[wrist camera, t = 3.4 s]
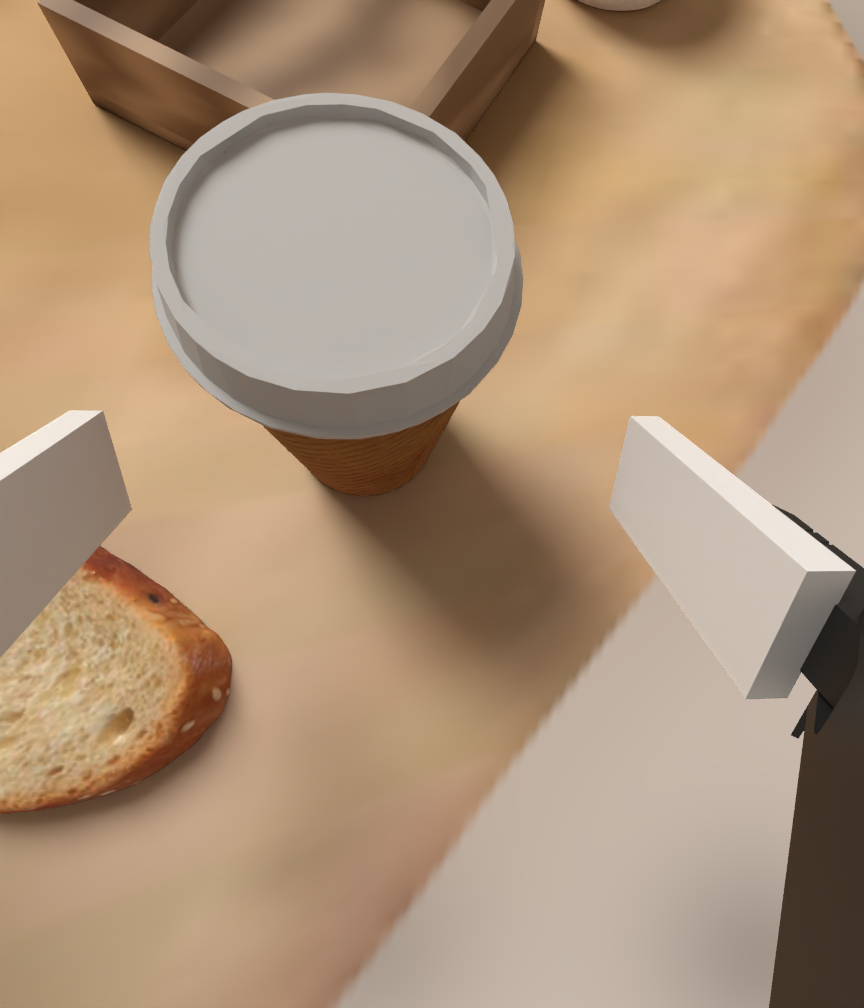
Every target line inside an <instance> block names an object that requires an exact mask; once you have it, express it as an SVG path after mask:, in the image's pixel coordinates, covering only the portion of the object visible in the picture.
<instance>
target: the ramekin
mask: <svg viewBox="0 0 864 1008" xmlns="http://www.w3.org/2000/svg"><path fill="white" fill-rule="evenodd" d="M577 1H580V2H582V3H584V4H587V5H589V6H592V7H596V8H599V9H604V10H614V11H628V10H638V9H643V8H646V7H649V6H651V5H654V4H655V3H657V2H659V1H661V0H577Z"/></svg>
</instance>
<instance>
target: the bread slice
mask: <svg viewBox="0 0 864 1008" xmlns="http://www.w3.org/2000/svg"><path fill="white" fill-rule="evenodd" d="M231 672H232V659H231V655H230V652H229V650H228V648H227V647H226V645H225V644H224V642H223V641H222V640H221V638H220V637H219V635H218V634H217V633H216V632H214V631H213V630H211V629H209V628H208V627H206V626H205V625H204V624H203V623H202V622H201V621H200V619H199V618H198V617H197V616H196V615H195V614H194V613H193V612H191V611H190V610H189V609H188V608H186V607H185V606H184V605H183V604H182V603H181V602H180V601H178V600H177V599H176V598H175V597H174V596H173V595H172V594H171V593H170V592H169V591H168V590H167V589H166V588H164V587H163V586H161V585H159V584H157V583H156V582H154V581H153V580H151V579H150V578H148V577H147V576H146V575H145V574H143V573H142V572H140V571H139V570H138V569H136V568H135V567H134V566H132V565H131V564H129V563H127V562H125V561H124V560H122V559H120V558H118V557H116V556H114V555H113V554H111V553H110V552H108V551H107V550H105V549H104V548H102V547H101V546H99V547H98V548H97V549H96V551H95V552H94V553H93V554H92V555H91V556H90V557H89V558H88V560H87V561H86V562H85V563H84V564H83V565H82V566H81V567H80V569H79V570H78V571H77V572H76V573H75V574H74V575H73V576H72V578H71V579H70V580H69V581H68V582H67V583H66V584H65V586H64V587H63V588H62V589H61V590H60V591H59V592H58V593H57V595H56V596H55V597H54V598H53V599H52V600H51V601H50V602H49V604H48V605H47V606H46V607H45V608H44V609H43V610H42V612H41V613H40V614H39V615H38V616H37V617H36V618H35V619H34V621H33V622H32V623H31V624H30V625H29V626H28V627H27V628H26V630H25V631H24V632H23V633H22V634H21V635H20V636H19V637H18V639H17V640H16V641H15V642H14V643H13V644H12V645H11V647H10V648H9V649H8V650H7V651H6V652H5V653H4V654H3V656H2V657H1V658H0V814H6V813H13V812H28V811H39V810H44V809H50V808H55V807H60V806H64V805H69V804H73V803H77V802H81V801H85V800H89V799H93V798H97V797H101V796H104V795H107V794H110V793H113V792H116V791H118V790H121V789H124V788H126V787H129V786H131V785H134V784H136V783H138V782H140V781H141V780H143V779H145V778H147V777H148V776H150V775H152V774H153V773H155V772H157V771H159V770H160V769H162V768H164V767H165V766H167V765H168V764H169V763H171V762H172V761H173V760H174V759H176V758H177V757H178V756H180V755H181V754H182V753H184V752H185V751H186V750H187V749H189V748H190V747H191V746H192V745H193V744H194V743H195V742H197V741H198V740H199V739H200V737H201V736H202V735H203V734H204V732H205V731H206V730H207V728H208V727H209V726H210V725H211V724H212V723H213V722H214V721H215V720H216V719H217V718H218V717H219V716H220V714H221V712H222V710H223V708H224V706H225V703H226V700H227V698H228V695H229V691H230V682H231Z"/></svg>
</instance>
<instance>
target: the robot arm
mask: <svg viewBox="0 0 864 1008" xmlns="http://www.w3.org/2000/svg"><path fill="white" fill-rule="evenodd" d="M609 509H610V511H611V512H612V513H613V515H614V516H615V518H616V519H617V520H618V522H619V523H620V525H621V526H622V527H623V529H624V530H625V532H626V533H627V534H628V536H629V537H630V539H631V540H632V541H633V543H634V544H635V546H636V547H637V548H638V550H639V551H640V553H641V554H642V555H643V557H644V558H645V560H646V561H647V562H648V564H649V565H650V566H651V568H652V569H653V571H654V572H655V573H656V575H657V576H658V578H659V579H660V580H661V582H662V583H663V585H664V586H665V587H666V589H667V590H668V591H669V593H670V594H671V596H672V597H673V599H674V600H675V601H676V603H677V604H678V606H679V607H680V608H681V610H682V611H683V613H684V614H685V615H686V617H687V618H688V620H689V621H690V622H691V624H692V625H693V626H694V628H695V629H696V631H697V632H698V633H699V635H700V636H701V638H702V639H703V641H704V642H705V643H706V645H707V646H708V647H709V649H710V650H711V652H712V653H713V655H714V656H715V657H716V659H717V660H718V661H719V663H720V664H721V666H722V667H723V668H724V670H725V671H726V673H727V674H728V675H729V677H730V678H731V680H732V681H733V682H734V684H735V685H736V687H737V688H738V690H739V691H740V692H741V694H742V695H743V696H744V698H745V699H765V698H787V697H788V695H789V694H790V692H791V690H792V688H793V686H794V685H795V683H796V681H797V679H798V677H799V675H800V673H801V672H802V673H803V674H804V675H805V677H806V678H807V679H808V680H809V681H810V682H811V683H812V685H813V686H814V687H815V688H816V689H817V691H816V692H815V694H814V696H813V697H812V699H811V701H810V703H809V705H808V706H807V708H806V710H805V711H804V713H803V715H802V716H801V718H800V720H799V722H798V723H797V725H796V727H795V729H794V731H793V732H792V734H791V735H792V736H794V737H796V738H799V737H800V735H801V734H802V732H803V731H805V732H804V740H803V748H802V755H801V764H800V771H799V778H798V786H797V794H796V802H795V810H794V817H793V826H792V833H791V841H790V849H789V857H788V864H787V872H786V880H785V888H784V895H783V903H782V911H781V919H780V927H779V935H778V943H777V950H776V958H775V965H774V973H773V982H772V989H771V997H770V1004H769V1008H864V568H862V567H861V566H860V565H859V564H857V563H856V562H855V561H853V560H852V559H851V558H849V557H848V556H847V555H846V554H844V553H843V552H842V551H840V550H839V549H838V548H836V547H835V546H834V545H829V541H827V540H826V539H825V538H823V537H822V536H821V535H819V534H818V533H813V529H811V528H810V527H809V526H808V525H806V524H805V523H804V522H802V521H801V520H800V519H798V518H797V517H796V516H795V515H793V514H791V513H789V512H787V511H785V510H782V509H780V508H778V507H776V506H774V505H772V504H770V503H769V502H768V501H766V500H765V499H764V498H762V497H761V496H760V495H759V494H757V493H756V492H755V491H753V490H752V489H751V488H750V487H748V486H747V485H746V484H744V483H743V482H742V481H741V480H739V479H738V478H737V477H736V476H734V475H733V474H732V473H730V472H729V471H728V470H727V469H725V468H724V467H723V466H722V465H720V464H719V463H718V462H716V461H715V460H714V459H713V458H711V457H710V456H709V455H707V454H706V453H705V452H704V451H702V450H701V449H700V448H699V447H697V446H696V445H695V444H693V443H692V442H691V441H690V440H688V439H687V438H686V437H684V436H683V435H682V434H681V433H679V432H678V431H677V430H676V429H674V428H673V427H672V426H670V425H669V424H668V423H667V422H665V421H664V420H663V419H661V418H660V417H659V416H630V419H629V423H628V427H627V432H626V436H625V440H624V445H623V449H622V453H621V457H620V462H619V466H618V470H617V475H616V479H615V483H614V488H613V492H612V496H611V501H610V505H609ZM131 510H132V508H131V504H130V501H129V498H128V494H127V491H126V487H125V484H124V481H123V477H122V474H121V470H120V467H119V464H118V460H117V457H116V453H115V450H114V447H113V443H112V440H111V436H110V433H109V430H108V426H107V423H106V419H105V416H104V413H103V411H77V410H70V411H68V412H66V413H65V414H63V415H62V416H60V417H58V418H57V419H55V420H53V421H52V422H50V423H48V424H47V425H45V426H44V427H42V428H40V429H39V430H37V431H35V432H34V433H32V434H30V435H29V436H27V437H26V438H24V439H22V440H21V441H19V442H17V443H16V444H14V445H12V446H11V447H9V448H8V449H6V450H4V451H3V452H1V453H0V658H1V657H2V656H3V654H4V653H5V652H6V651H7V650H8V649H9V648H10V647H11V645H12V644H13V643H14V642H15V641H16V640H17V639H18V637H19V636H20V635H21V634H22V633H23V632H24V631H25V630H26V628H27V627H28V626H29V625H30V624H31V623H32V622H33V621H34V619H35V618H36V617H37V616H38V615H39V614H40V613H41V612H42V610H43V609H44V608H45V607H46V606H47V605H48V604H49V602H50V601H51V600H52V599H53V598H54V597H55V596H56V595H57V593H58V592H59V591H60V590H61V589H62V588H63V587H64V586H65V584H66V583H67V582H68V581H69V580H70V579H71V578H72V576H73V575H74V574H75V573H76V572H77V571H78V570H79V569H80V567H81V566H82V565H83V564H84V563H85V562H86V561H87V560H88V558H89V557H90V556H91V555H92V554H93V553H94V552H95V551H96V549H97V548H98V547H99V546H100V545H101V544H102V543H103V541H104V540H105V539H106V538H107V537H108V536H109V535H110V534H111V532H112V531H113V530H114V529H115V528H116V527H117V526H118V525H119V523H120V522H121V521H122V520H123V519H124V518H125V517H126V515H127V514H128V513H129V512H130V511H131Z"/></svg>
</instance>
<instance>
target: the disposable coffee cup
mask: <svg viewBox="0 0 864 1008" xmlns="http://www.w3.org/2000/svg"><path fill="white" fill-rule="evenodd" d="M150 257H151V262H152V266H153V272H152V291H153V298H154V304H155V310H156V315H157V318H158V320H159V322H160V325H161V327H162V330H163V332H164V335H165V337H166V340H167V342H168V345H169V347H170V348H171V349H172V351H173V352H174V354H175V355H176V357H177V358H178V360H179V361H180V363H181V364H182V366H183V367H184V369H185V370H186V371H187V372H188V373H189V374H190V375H191V376H192V377H193V378H194V379H195V380H196V381H197V383H198V384H199V385H200V386H201V387H202V388H204V389H205V390H206V391H207V392H208V393H210V394H211V395H212V396H214V397H215V398H216V399H218V400H219V401H220V402H221V403H223V404H224V405H225V406H227V407H228V408H230V409H232V410H234V411H236V412H238V413H240V414H242V415H244V416H246V417H248V418H250V419H252V420H254V421H255V422H257V423H259V424H261V425H263V426H264V428H266V429H267V430H268V431H269V432H270V433H271V434H272V435H273V436H274V437H275V438H276V439H277V440H278V441H279V442H280V443H281V444H282V445H283V446H285V447H286V449H287V450H288V451H289V452H291V453H292V454H293V455H294V456H295V457H296V458H297V459H298V460H299V461H300V462H301V463H302V464H303V465H304V466H305V467H306V468H307V469H308V470H309V471H310V472H311V473H312V474H313V475H314V476H315V477H316V478H317V479H319V480H320V481H321V482H322V483H324V484H325V485H327V486H329V487H330V488H332V489H334V490H337V491H340V492H343V493H346V494H352V495H360V496H368V495H379V494H383V493H387V492H389V491H392V490H394V489H396V488H399V487H401V486H402V485H404V484H405V483H407V482H409V481H410V480H411V479H412V478H413V477H414V476H415V475H416V474H417V473H418V472H419V471H420V469H421V468H422V467H423V465H424V464H425V462H426V460H427V459H428V456H429V454H430V453H431V451H432V449H433V448H434V446H435V444H436V442H437V441H438V439H439V437H440V436H441V434H442V432H443V431H444V430H445V427H446V426H447V424H448V422H449V420H450V418H451V416H452V414H453V412H454V411H455V409H456V407H457V405H458V404H459V402H460V400H462V399H463V398H464V397H466V396H467V395H469V394H470V393H471V392H472V391H473V390H474V388H475V387H476V386H477V385H478V384H479V383H480V382H481V381H482V379H483V378H484V377H485V376H486V375H487V374H488V373H489V372H490V370H491V369H492V368H493V367H494V366H495V365H496V364H497V362H498V360H499V359H500V357H501V355H502V353H503V351H504V349H505V348H506V346H507V344H508V342H509V340H510V338H511V337H512V335H513V332H514V328H515V325H516V322H517V318H518V315H519V311H520V308H521V302H522V287H523V274H522V266H521V257H520V252H519V249H518V246H517V243H516V240H515V237H514V224H513V220H512V217H511V214H510V210H509V207H508V203H507V200H506V196H505V195H504V193H503V191H502V189H501V187H500V185H499V183H498V181H497V179H496V177H495V176H494V174H493V173H492V171H491V170H490V169H489V167H488V166H487V165H486V164H485V162H484V161H483V160H482V158H481V157H480V156H479V155H478V154H477V153H476V152H475V151H474V150H473V149H472V148H471V147H470V146H469V145H468V144H467V143H465V142H464V141H463V140H462V139H461V138H460V137H459V136H458V135H457V134H456V133H455V132H453V131H451V130H450V129H448V128H446V127H444V126H443V125H441V124H439V123H438V122H436V121H434V120H433V119H431V118H429V117H428V116H426V115H424V114H422V113H420V112H417V111H415V110H412V109H410V108H407V107H404V106H402V105H399V104H397V103H394V102H391V101H386V100H381V99H376V98H371V97H366V96H361V95H355V94H339V93H316V94H304V95H298V96H293V97H288V98H282V99H277V100H272V101H269V102H266V103H264V104H261V105H258V106H255V107H252V108H249V109H247V110H244V111H242V112H240V113H238V114H236V115H234V116H232V117H230V118H229V119H227V120H225V121H223V122H221V123H220V124H219V125H217V126H216V127H214V128H213V129H211V130H210V131H209V132H207V133H206V134H204V135H203V136H201V137H200V138H199V139H198V140H197V141H196V142H195V143H194V144H193V145H192V146H191V147H190V148H189V149H188V150H187V151H186V152H185V153H184V154H183V155H182V156H181V158H180V159H179V161H178V162H177V164H176V165H175V166H174V168H173V169H172V171H171V172H170V174H169V175H168V177H167V178H166V179H165V181H164V184H163V187H162V189H161V192H160V195H159V198H158V201H157V203H156V207H155V210H154V214H153V218H152V221H151V225H150Z"/></svg>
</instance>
